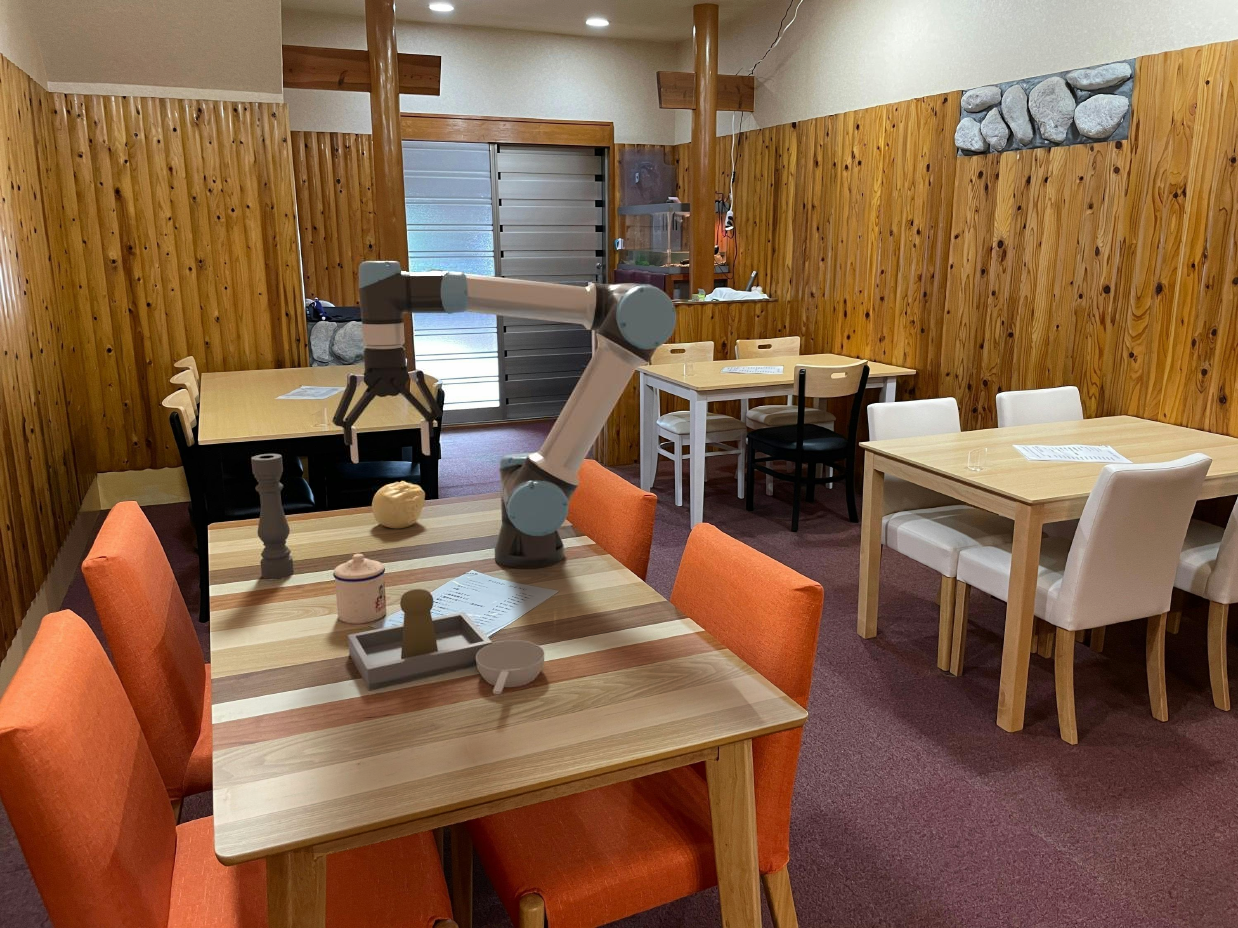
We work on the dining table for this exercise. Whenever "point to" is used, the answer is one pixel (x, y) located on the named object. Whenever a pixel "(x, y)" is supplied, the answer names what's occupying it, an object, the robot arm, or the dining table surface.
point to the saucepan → (510, 663)
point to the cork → (417, 624)
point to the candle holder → (272, 517)
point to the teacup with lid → (360, 590)
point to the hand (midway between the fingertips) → (391, 457)
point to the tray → (385, 667)
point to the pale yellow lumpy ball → (398, 504)
